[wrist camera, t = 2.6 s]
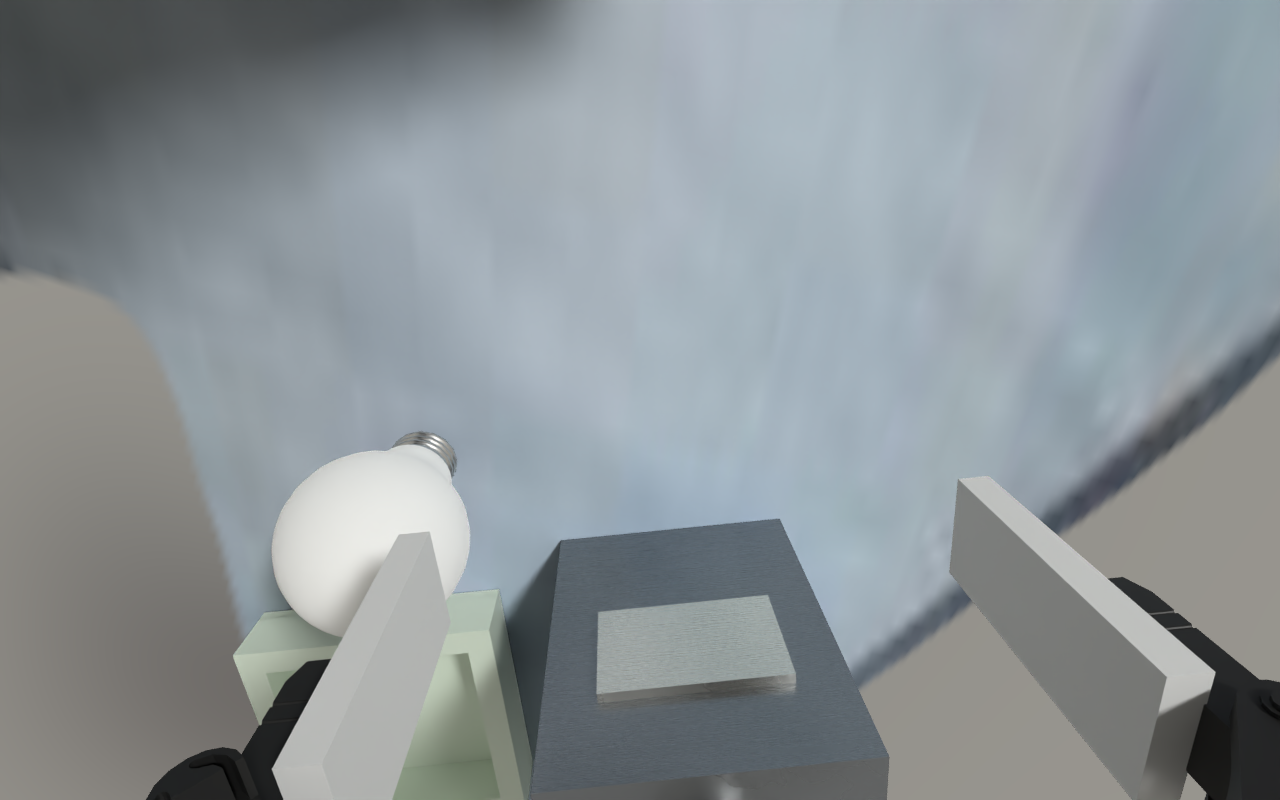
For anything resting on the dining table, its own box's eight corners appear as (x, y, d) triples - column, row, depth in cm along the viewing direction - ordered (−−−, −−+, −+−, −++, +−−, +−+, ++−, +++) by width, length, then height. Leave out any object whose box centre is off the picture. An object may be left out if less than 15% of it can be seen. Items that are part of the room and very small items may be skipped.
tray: (264, 612, 34) (232, 655, 31) (499, 589, 34) (489, 630, 31) (324, 783, 38) (301, 835, 36) (532, 761, 39) (526, 812, 36)
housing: (559, 533, 33) (520, 849, 18) (779, 511, 33) (918, 807, 18) (582, 681, 37) (564, 1049, 22) (781, 660, 37) (900, 1013, 22)
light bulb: (475, 531, 33) (415, 704, 23) (341, 487, 32) (213, 650, 22) (519, 414, 31) (475, 548, 21) (377, 364, 30) (255, 478, 20)
